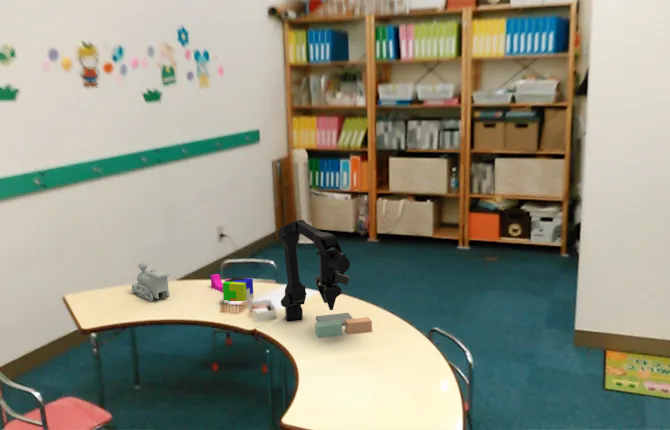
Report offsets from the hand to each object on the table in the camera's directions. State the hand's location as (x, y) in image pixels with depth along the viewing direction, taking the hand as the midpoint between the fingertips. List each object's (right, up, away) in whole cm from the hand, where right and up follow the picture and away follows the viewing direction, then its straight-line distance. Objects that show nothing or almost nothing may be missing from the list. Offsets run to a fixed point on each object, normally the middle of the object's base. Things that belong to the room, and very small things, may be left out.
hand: (328, 306), depth 243 cm
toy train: (-85, -4, +56) cm, 102 cm away
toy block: (-51, -2, +61) cm, 80 cm away
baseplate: (+3, -8, +16) cm, 18 cm away
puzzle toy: (-42, -5, +45) cm, 61 cm away
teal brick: (0, -11, +2) cm, 11 cm away
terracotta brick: (+12, -10, +5) cm, 16 cm away
